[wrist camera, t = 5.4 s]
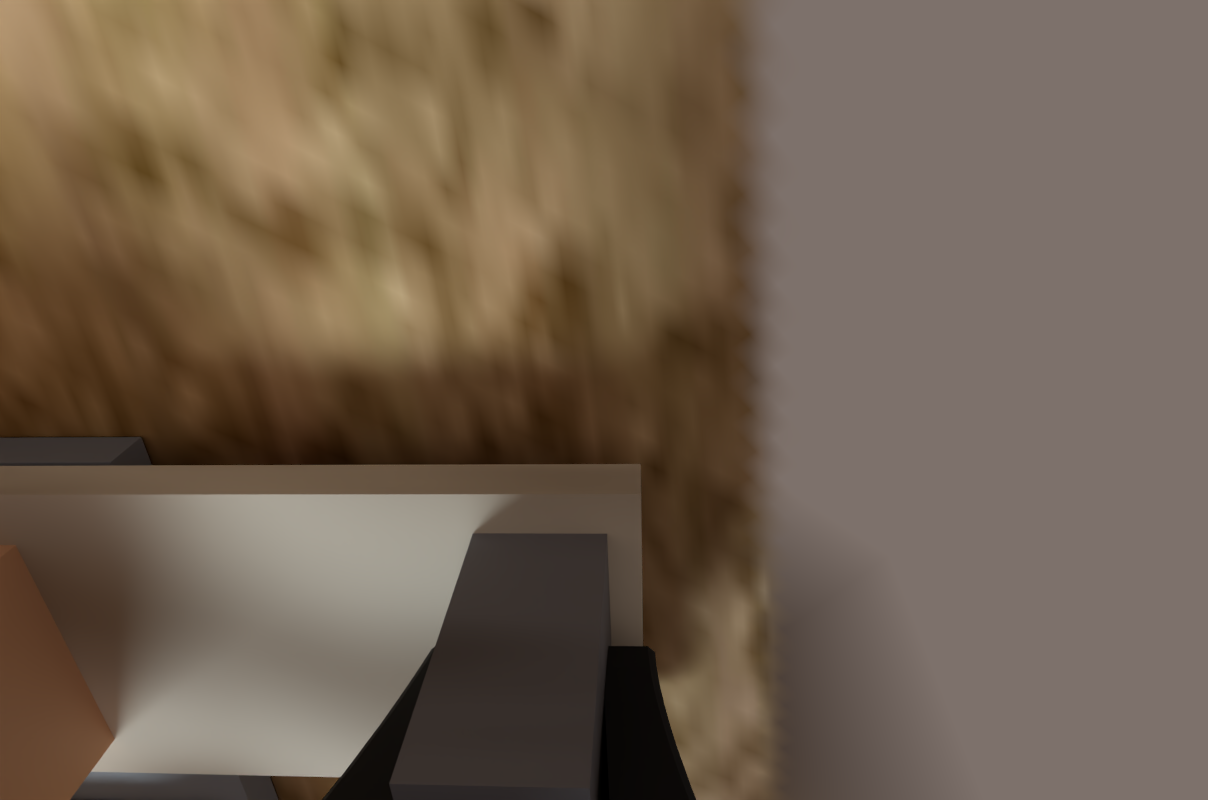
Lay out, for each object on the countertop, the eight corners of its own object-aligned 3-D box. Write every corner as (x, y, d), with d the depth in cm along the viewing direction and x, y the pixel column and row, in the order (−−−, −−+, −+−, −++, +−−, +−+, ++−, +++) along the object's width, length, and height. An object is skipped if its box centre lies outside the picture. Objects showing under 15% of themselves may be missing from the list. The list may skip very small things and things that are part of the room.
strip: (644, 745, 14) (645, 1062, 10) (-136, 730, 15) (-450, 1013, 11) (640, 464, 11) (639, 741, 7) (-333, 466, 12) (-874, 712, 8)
